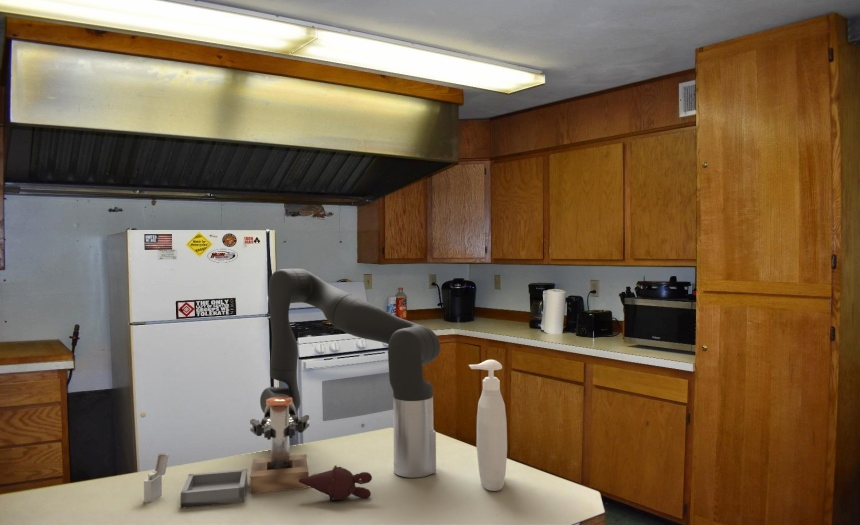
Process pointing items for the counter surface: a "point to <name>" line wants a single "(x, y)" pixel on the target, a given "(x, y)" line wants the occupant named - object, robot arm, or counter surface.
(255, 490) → the hitch block
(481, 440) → the soap bottle
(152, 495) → the lighter
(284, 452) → the pin
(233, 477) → the tray
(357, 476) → the icecream
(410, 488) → the counter surface
